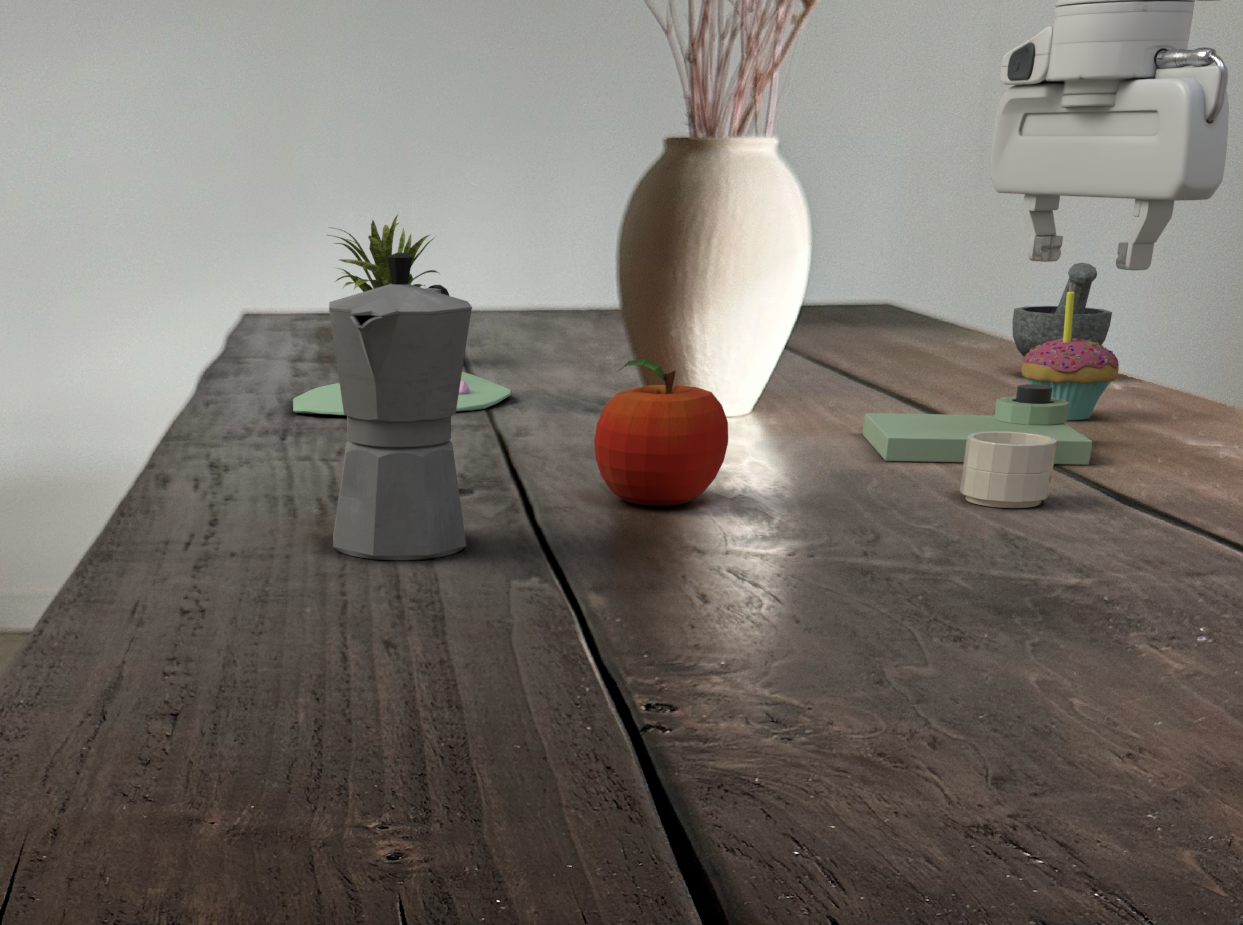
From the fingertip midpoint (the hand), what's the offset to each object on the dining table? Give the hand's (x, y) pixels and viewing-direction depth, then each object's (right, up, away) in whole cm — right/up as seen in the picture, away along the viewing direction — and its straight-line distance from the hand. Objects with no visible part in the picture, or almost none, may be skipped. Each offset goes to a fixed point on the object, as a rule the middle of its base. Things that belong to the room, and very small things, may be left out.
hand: (1086, 265), depth 123 cm
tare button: (+5, -4, +23) cm, 24 cm away
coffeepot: (-49, -22, -10) cm, 55 cm away
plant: (-49, +3, +47) cm, 68 cm away
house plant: (-51, +15, +74) cm, 90 cm away
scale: (-1, -8, +21) cm, 23 cm away
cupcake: (+13, -1, +37) cm, 39 cm away
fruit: (-31, -17, +1) cm, 35 cm away
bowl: (-6, -17, +1) cm, 18 cm away
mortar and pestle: (+22, +10, +62) cm, 67 cm away
